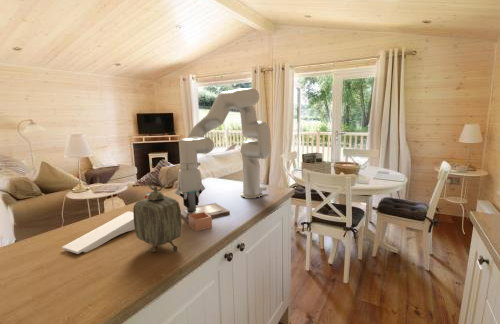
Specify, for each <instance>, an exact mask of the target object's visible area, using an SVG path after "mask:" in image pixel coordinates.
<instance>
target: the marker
mask: <svg viewBox="0 0 500 324" xmlns="http://www.w3.org/2000/svg"><path fill="white" fill-rule="evenodd" d="M187 199H188V208H187V207H186V209H187V212H195V211H196V207H197V205H196V198H195V191H190V192H187Z"/></svg>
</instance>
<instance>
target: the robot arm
mask: <svg viewBox="0 0 500 324" xmlns="http://www.w3.org/2000/svg"><path fill="white" fill-rule="evenodd" d="M259 101H260V93H259V91H258V90H257V89H256V88H253V87H249V88H247V87H246V88H236V89H233V90H228V91H227V90H225V91H221V92H219V93H218V94H217V96H216V98H215V99H214V101H213V103H212V106H211V107H210V108H209V111H208V113H207V115H206V116H204V117H203V118H202V119H200V120H199V122H197V123H196V124H195V125H194V126H193V128H192V129H191V131H190V132H189V134H188V136H187V138H186V137H185V138H181V139H179V141H178V150H179V165H180V166H179V167H180V169H179V170H178V172H177V188H176V190H175V192H174V194H175V195H177V196H179V197H181V198H182V199H183V201H182V202H183V206H184V207H185V208H186V209H187V208H188V199H187V192H190V191H195V198H196V207H197V206H199V202H200V200H199V197H200V195H201V194H202V193H203V191H204V190H206V186H204V184H203V181H202V176H201V170H200V168H199V166H201V162H198V154H200V155H201V154H204V155H205V154H209V153H211V152H212V151H213V150H214V148H215V143H214V141H213V139H211V138H210V137H208V136H207V137H206V135H207V134H208V133H209V132H211V131H213V130H215V129H217V128H220V126H222V125H223V124H224V123H225V120H226V118H227V116H228V115H229V113H230V111H231V110H232V109H233V110H234V109H236V110H238V111H239V113H240V121H241V123H240V124H241V133H242V136H243V137H244V138H247V139H252V140H245V141H243V142H242V143H241V144H240V145H241V146H240V154H241V158H242V184H243V185H242V192H240V197H241V198H243V197H245V198H244V199H251V198H252V199H257V198H256V197H259V198H261V197H260V196H262V197H263V191H264V192H265V191H267V190H268V188H267V186H266V187H264V186H261V183H260V182H261V178H260V177H261V174H260V173H261V172H260V171H261V169H260V168H261V166H260V162H259V159H260V160H266V159H268V158H269V157H270V156H271V153H272V144H271V141H272V140H271V139H272V138H271V129H270V128H271V127H270V126H269V124H268V123H267V122H266V121H264V120H258V118H257V110H256V108H255V105H256V104H258V102H259ZM253 139H256V140H253Z"/></svg>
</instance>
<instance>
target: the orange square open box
mask: <svg viewBox="0 0 500 324" xmlns="http://www.w3.org/2000/svg"><path fill="white" fill-rule="evenodd" d="M188 216H189V223H188V226H189V227H190V228H191V229H192V230H193V231H195V232H198V231H202V230H206V229H210V228H212V227H213V218H212V217H211V216H210V215H208V214H207V213H206V212H201V213H196V214H191V215H188Z"/></svg>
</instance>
